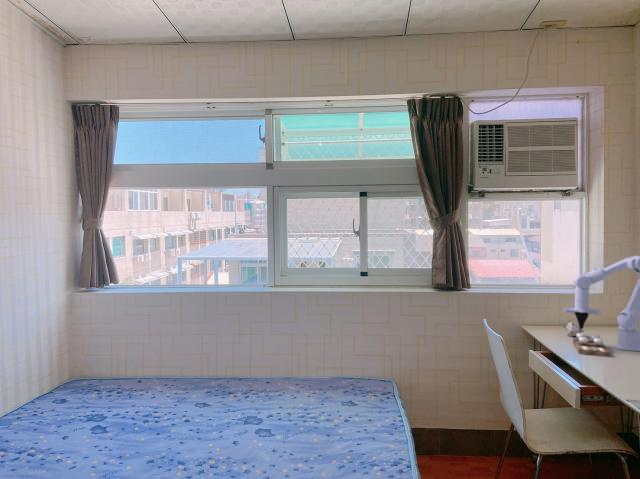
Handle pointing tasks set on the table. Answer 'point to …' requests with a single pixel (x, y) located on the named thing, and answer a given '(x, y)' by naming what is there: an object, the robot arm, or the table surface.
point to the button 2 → (594, 336)
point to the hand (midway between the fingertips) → (581, 328)
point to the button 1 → (583, 339)
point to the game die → (573, 328)
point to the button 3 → (598, 341)
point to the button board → (591, 348)
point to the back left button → (580, 335)
